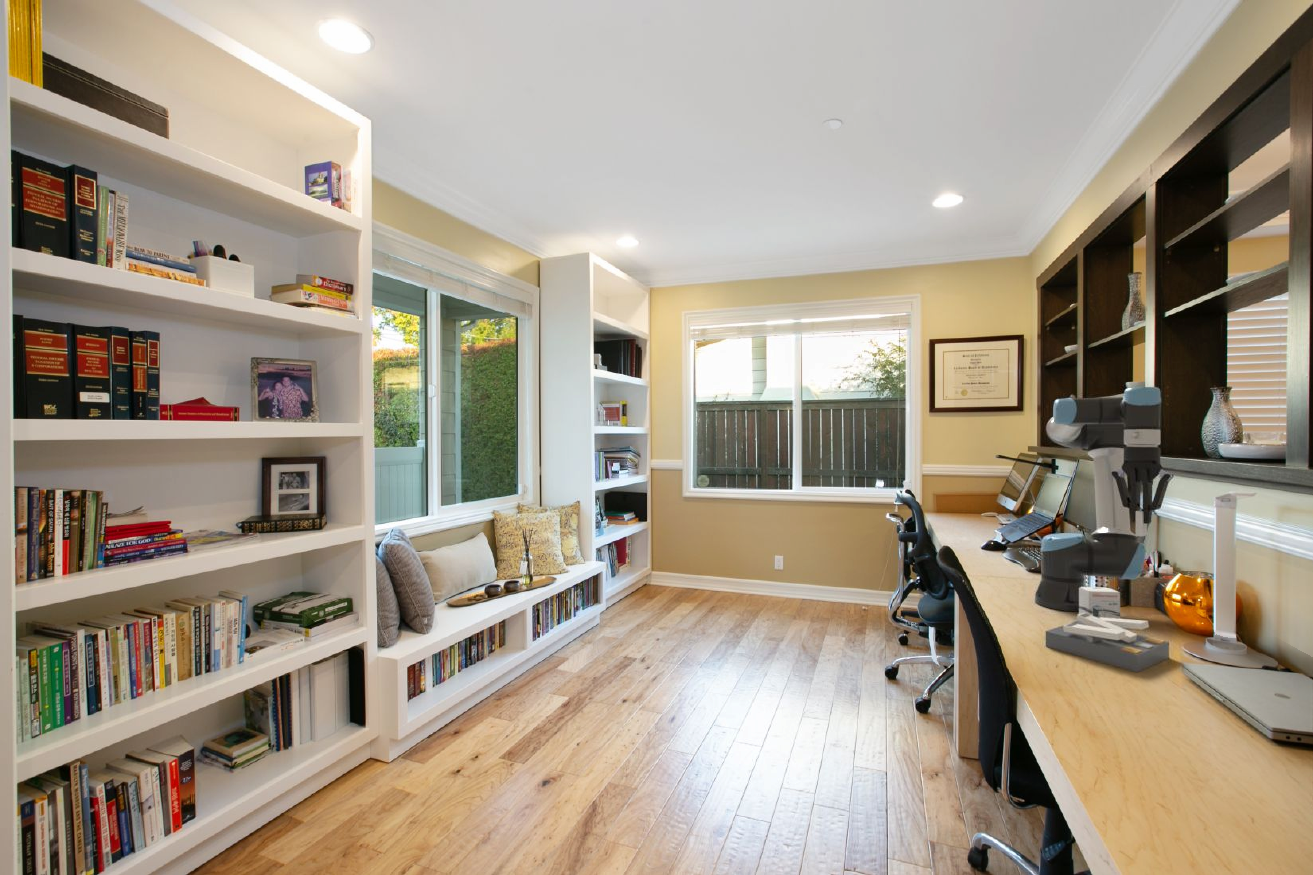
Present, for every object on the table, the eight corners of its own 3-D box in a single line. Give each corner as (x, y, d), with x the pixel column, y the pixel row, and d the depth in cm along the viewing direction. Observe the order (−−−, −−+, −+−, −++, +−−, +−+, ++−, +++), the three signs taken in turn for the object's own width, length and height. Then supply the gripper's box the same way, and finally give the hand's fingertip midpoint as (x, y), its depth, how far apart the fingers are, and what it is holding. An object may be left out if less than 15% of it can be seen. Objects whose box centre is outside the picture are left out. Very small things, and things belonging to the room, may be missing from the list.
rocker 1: (1071, 628, 156) (1070, 622, 156) (1125, 637, 145) (1124, 630, 146) (1063, 631, 154) (1063, 624, 154) (1118, 640, 143) (1117, 633, 144)
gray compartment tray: (1079, 634, 166) (1079, 615, 166) (1168, 657, 149) (1169, 636, 149) (1045, 646, 157) (1045, 625, 157) (1136, 672, 140) (1136, 649, 140)
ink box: (1088, 632, 168) (1088, 591, 168) (1077, 626, 173) (1077, 586, 173) (1121, 633, 167) (1121, 592, 167) (1109, 627, 172) (1109, 587, 172)
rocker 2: (1083, 617, 159) (1084, 611, 159) (1135, 639, 149) (1137, 633, 149) (1075, 619, 157) (1077, 614, 157) (1128, 642, 147) (1130, 636, 147)
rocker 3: (1096, 622, 162) (1094, 616, 162) (1148, 626, 152) (1147, 620, 152) (1088, 624, 160) (1087, 618, 160) (1142, 629, 150) (1140, 622, 150)
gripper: (1106, 445, 160) (1105, 533, 160) (1166, 446, 149) (1166, 540, 149) (1119, 445, 164) (1118, 530, 164) (1179, 446, 152) (1178, 538, 153)
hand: (1141, 535), depth 156 cm, fingers closed
